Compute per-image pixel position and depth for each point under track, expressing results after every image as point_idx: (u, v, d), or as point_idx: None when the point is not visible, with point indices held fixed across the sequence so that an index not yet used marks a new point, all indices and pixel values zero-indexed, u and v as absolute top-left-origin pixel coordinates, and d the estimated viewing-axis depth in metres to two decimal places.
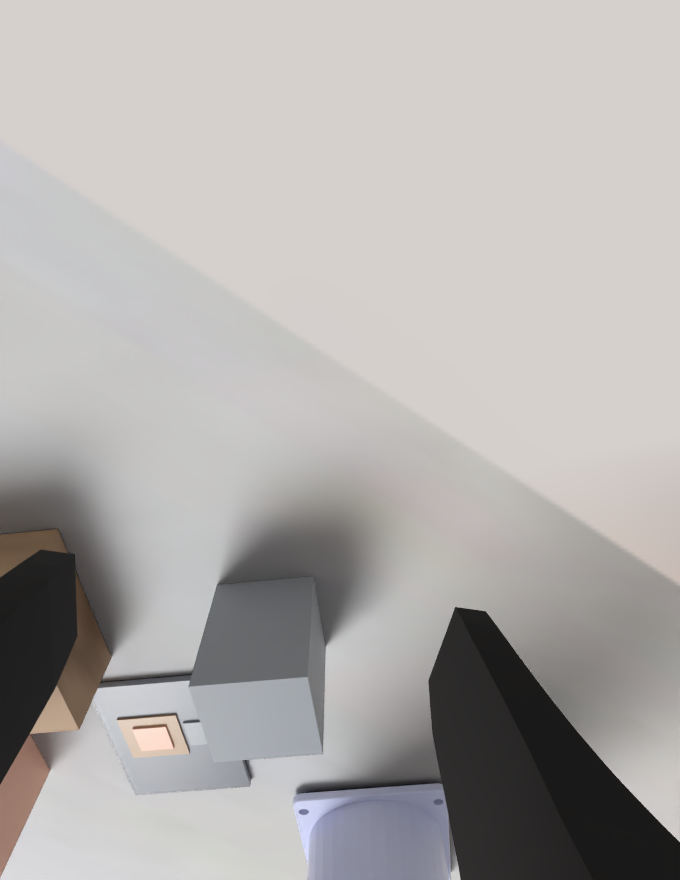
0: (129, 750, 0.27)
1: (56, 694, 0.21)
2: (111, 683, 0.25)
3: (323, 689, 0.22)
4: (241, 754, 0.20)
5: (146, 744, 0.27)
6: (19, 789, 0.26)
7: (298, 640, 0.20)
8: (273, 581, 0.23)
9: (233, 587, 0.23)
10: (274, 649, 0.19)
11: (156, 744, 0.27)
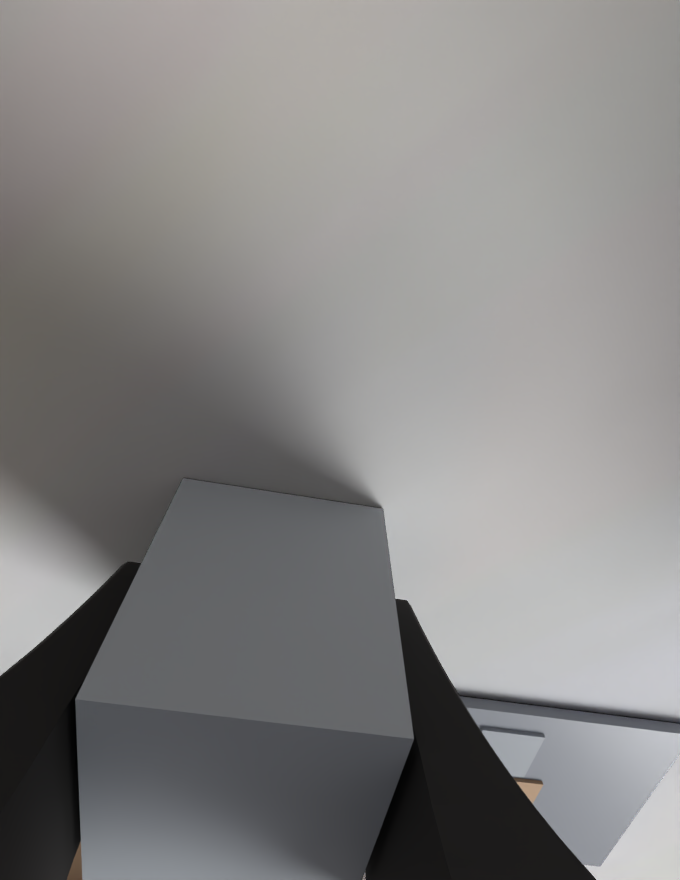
0: None
1: None
2: None
3: (378, 591, 0.09)
4: (343, 868, 0.08)
5: None
6: None
7: None
8: None
9: None
10: None
11: None
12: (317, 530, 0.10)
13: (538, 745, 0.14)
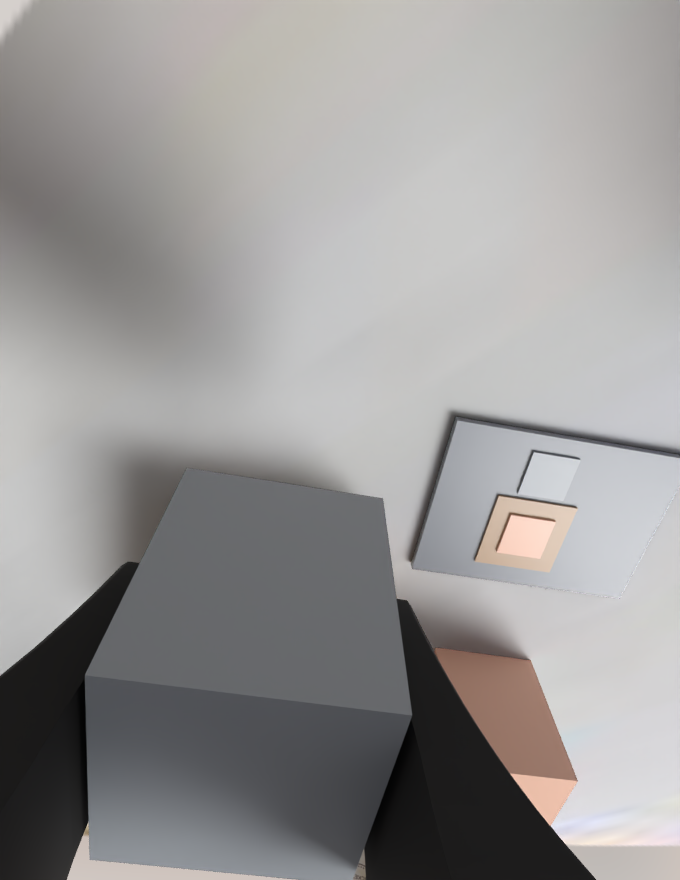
0: (535, 570, 0.20)
1: None
2: (418, 541, 0.20)
3: (377, 577, 0.09)
4: (343, 843, 0.08)
5: (531, 548, 0.20)
6: (505, 695, 0.21)
7: None
8: None
9: None
10: None
11: (537, 537, 0.19)
12: (318, 518, 0.10)
13: (575, 470, 0.18)
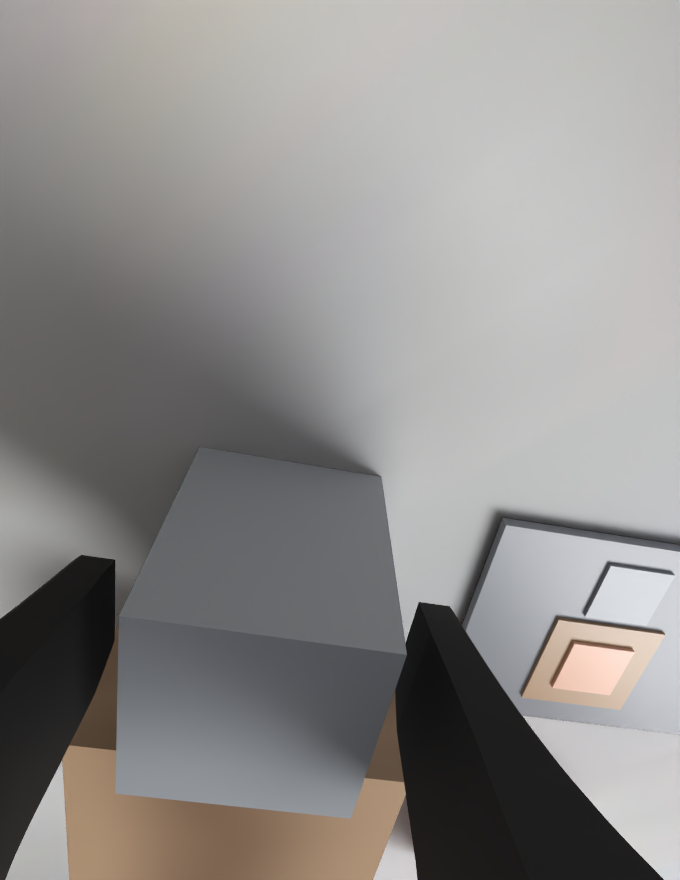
0: (601, 706, 0.15)
1: None
2: None
3: (376, 542, 0.10)
4: (344, 777, 0.09)
5: (598, 683, 0.14)
6: None
7: None
8: None
9: None
10: None
11: (607, 670, 0.14)
12: (322, 491, 0.11)
13: (665, 587, 0.13)
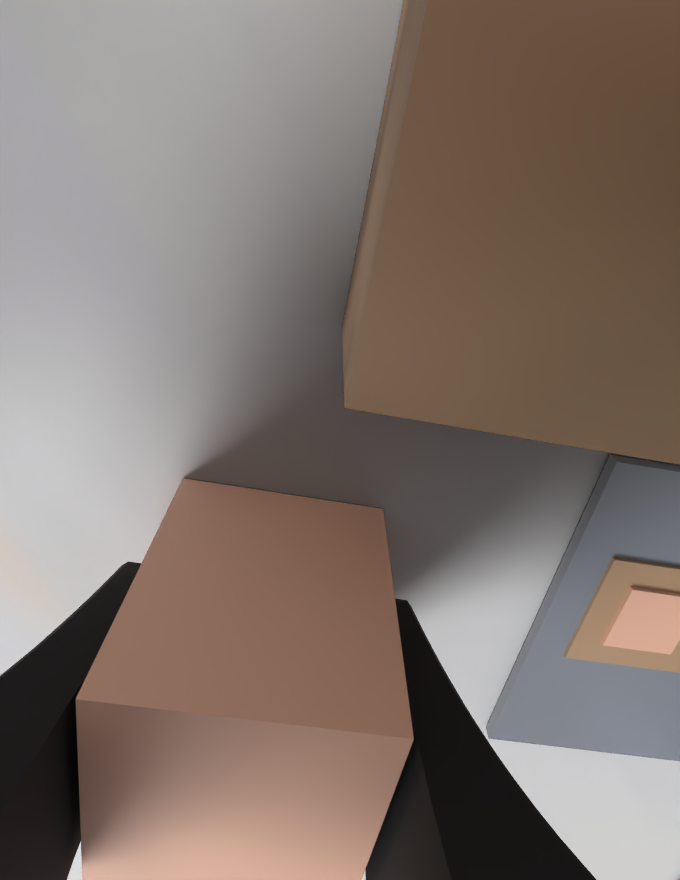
0: (567, 638, 0.12)
1: None
2: (665, 465, 0.11)
3: None
4: None
5: (626, 632, 0.12)
6: None
7: None
8: None
9: None
10: None
11: (646, 636, 0.12)
12: None
13: None
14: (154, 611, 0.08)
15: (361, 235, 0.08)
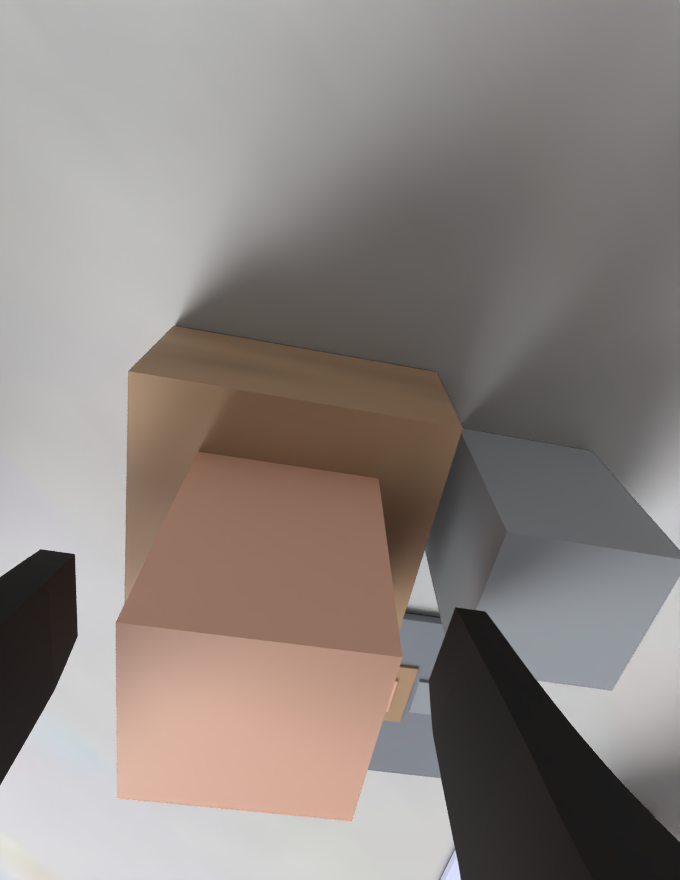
0: None
1: (400, 602, 0.14)
2: None
3: None
4: None
5: None
6: None
7: (634, 514, 0.13)
8: (540, 443, 0.16)
9: (485, 436, 0.16)
10: (606, 516, 0.13)
11: None
12: None
13: None
14: (178, 557, 0.09)
15: None
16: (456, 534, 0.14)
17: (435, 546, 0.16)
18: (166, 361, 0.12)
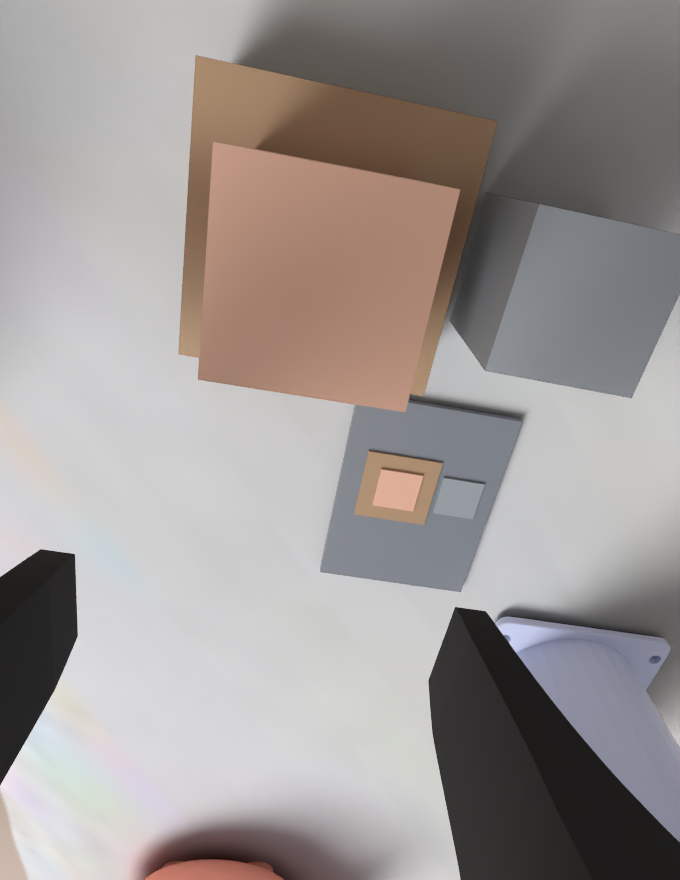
0: (354, 502, 0.21)
1: (435, 327, 0.15)
2: None
3: None
4: (529, 366, 0.14)
5: (384, 496, 0.21)
6: None
7: None
8: None
9: None
10: None
11: (396, 499, 0.21)
12: None
13: (462, 516, 0.22)
14: None
15: None
16: (485, 272, 0.16)
17: (463, 308, 0.17)
18: None
